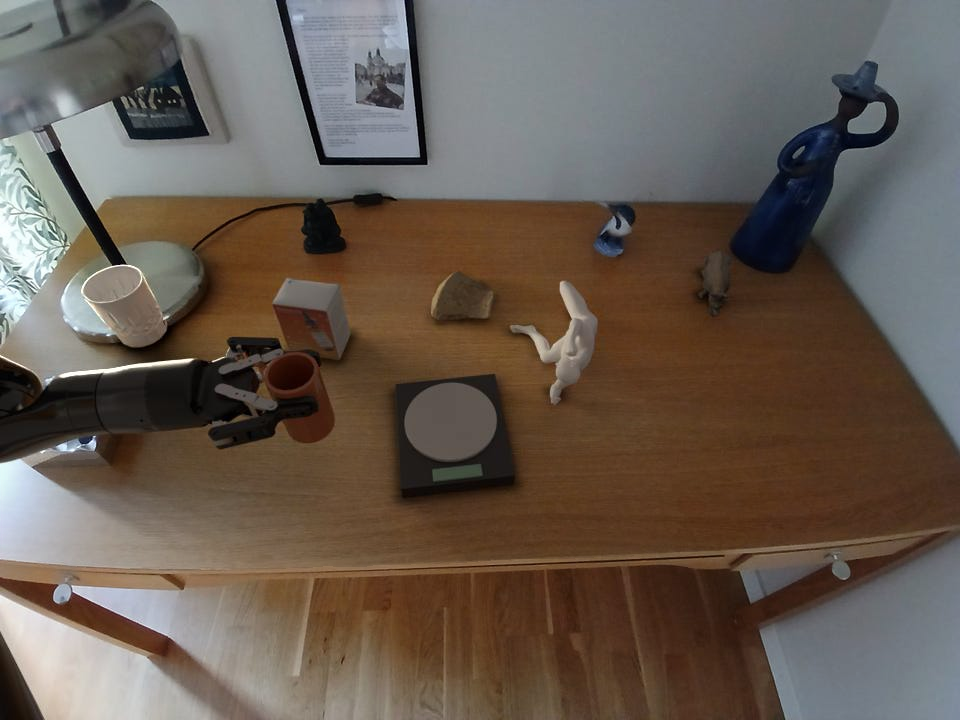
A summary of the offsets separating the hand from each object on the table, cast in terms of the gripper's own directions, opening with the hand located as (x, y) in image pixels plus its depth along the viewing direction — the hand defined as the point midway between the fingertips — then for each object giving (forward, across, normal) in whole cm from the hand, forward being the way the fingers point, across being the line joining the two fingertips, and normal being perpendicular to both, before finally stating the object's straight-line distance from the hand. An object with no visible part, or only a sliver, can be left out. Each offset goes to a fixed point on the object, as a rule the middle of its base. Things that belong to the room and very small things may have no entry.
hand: (318, 380), depth 61 cm
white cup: (-30, +25, +15) cm, 42 cm away
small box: (-3, +19, +15) cm, 25 cm away
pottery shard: (+20, +25, +15) cm, 35 cm away
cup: (-2, 0, +8) cm, 8 cm away
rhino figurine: (+60, +21, +15) cm, 65 cm away
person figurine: (+33, +11, +15) cm, 38 cm away
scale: (+15, 0, +15) cm, 21 cm away
